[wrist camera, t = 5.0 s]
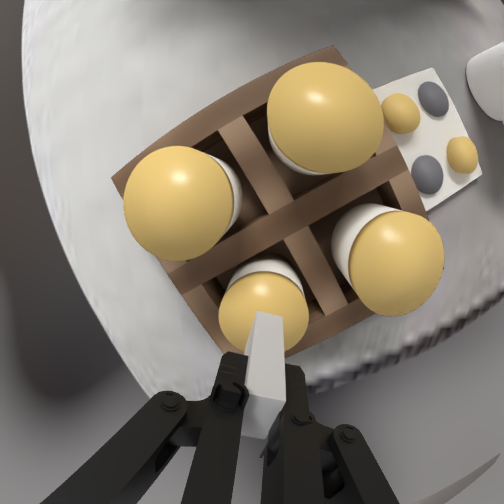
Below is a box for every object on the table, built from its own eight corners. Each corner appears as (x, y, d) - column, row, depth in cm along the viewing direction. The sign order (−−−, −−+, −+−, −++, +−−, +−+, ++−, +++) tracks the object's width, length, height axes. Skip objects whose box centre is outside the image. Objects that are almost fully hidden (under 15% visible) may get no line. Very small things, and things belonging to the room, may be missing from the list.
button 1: (149, 185, 19) (106, 188, 13) (216, 139, 18) (192, 123, 12) (190, 252, 20) (160, 279, 15) (259, 211, 19) (253, 224, 13)
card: (356, 98, 20) (363, 91, 18) (427, 70, 18) (438, 63, 16) (414, 214, 22) (425, 217, 20) (477, 173, 21) (489, 174, 18)
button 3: (252, 118, 18) (244, 92, 12) (324, 82, 16) (343, 47, 11) (296, 190, 19) (307, 194, 13) (366, 152, 18) (402, 143, 12)
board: (136, 177, 23) (110, 177, 19) (323, 66, 20) (333, 45, 15) (245, 347, 27) (241, 375, 23) (419, 254, 23) (443, 269, 19)
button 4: (316, 227, 19) (335, 247, 13) (384, 189, 18) (425, 194, 12) (350, 294, 20) (374, 333, 15) (412, 257, 19) (452, 283, 13)
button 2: (218, 273, 24) (201, 302, 18) (279, 239, 22) (281, 260, 17) (253, 327, 25) (247, 367, 19) (312, 298, 24) (323, 333, 18)
